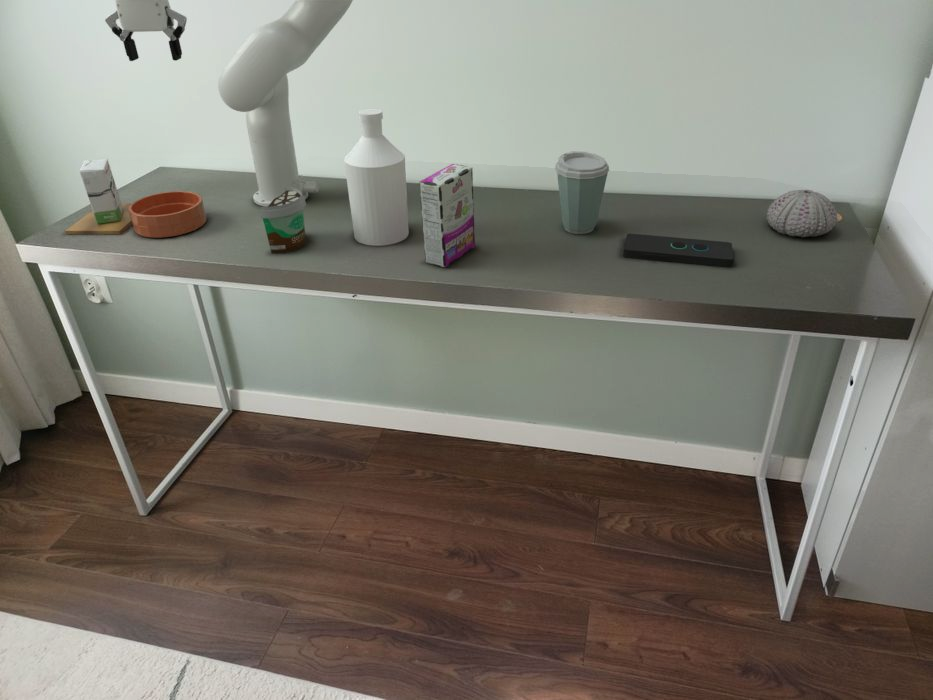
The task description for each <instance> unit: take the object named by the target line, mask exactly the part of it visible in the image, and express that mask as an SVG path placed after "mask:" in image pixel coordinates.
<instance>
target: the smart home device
mask: <svg viewBox="0 0 933 700" xmlns="http://www.w3.org/2000/svg"><path fill="white" fill-rule="evenodd" d="M622 256H623V257H624V258H630V259H640V260H650V261H662V262H672V263H682V264H693V265H703V266H712V267H723V268H732V267H733V263H734V251H733V243H732V242H729V241H718V240H709V239H708V240H707V239H697V238H685V237H674V236H664V235H663V236H662V235H652V234H643V233H626V236H625V241H624V245H623V253H622Z"/></svg>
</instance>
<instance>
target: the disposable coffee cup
mask: <svg viewBox="0 0 933 700" xmlns="http://www.w3.org/2000/svg"><path fill="white" fill-rule="evenodd" d="M557 158H558V159H557V162H556V163H555V167H554V170H555V172H556V175H557V185H558V192H559V204H560V211H561V218H562V219H561V221H562V225H563V228H564V231H565V232H568V233H570V234H574V235H587V234H589V233H592V232H593V231H594V230H595V227H596V225H597V222H598V217H599V213H600V209H601V204H602V200H603V195H604V192H605V187H606V182H607V178H608V173H609V172H610V166H609V164H608V162H607V160H606V159H605V158H604V157H602V156H601V155H598V154H596V153H592V152H588V151H569V152H565V153H563V154H561V155H560V156H559V157H557Z"/></svg>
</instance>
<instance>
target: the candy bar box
mask: <svg viewBox="0 0 933 700" xmlns="http://www.w3.org/2000/svg"><path fill="white" fill-rule="evenodd" d="M473 173H474V172H473V166H468V165H463V164H458V163H451V164H449V165H447V166H446V167H444V168H442V169H439V170H438V171H436V172H433V173H432V174H431V175H429V176H427V177H425V178H424V179H421V180H419V182H418V183H419V195H420V210H421V219H422V234H423V245H424V247H423V248H424V260H425V261H424V262H425V263H426V264H429V265H432V266H437V267H440V268H447V267H448V266H450V265H451V264H453V263H454V262H455V261H457V260H458V259H461V257H462V256H464V255H465V254H467V253H468V252H469V251H471V250H472V249H473V248H475V247H476V240H475V238H476V237H475V235H476V234H475V209H474V207H475V206H474V179H473V178H474V175H473Z"/></svg>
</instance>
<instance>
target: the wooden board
mask: <svg viewBox="0 0 933 700" xmlns="http://www.w3.org/2000/svg"><path fill="white" fill-rule="evenodd" d="M132 203H133V202H127V203H126V202H124V203H123V202H121V204H122V207H123V211H122V215H121V220H120V221H117V222H109V223H102V224H97V222H96V219H95V216H94V213H93V210H92V209H91V211H89V212H88V213H86V214H85V215H84V216H82V217H81V218H79V219H78V220H77V221H76V222H75V223H73V224H72V225H70V226H69V227H68V228H66V229H65V230H64V232H65V234H66V235H122V234H123V233H124V232H125V231H127V229H128V228H130V227H131V226H133V224H132V221H131V217H130V214H129V211H128V208H129V206H130V205H131V204H132Z"/></svg>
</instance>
